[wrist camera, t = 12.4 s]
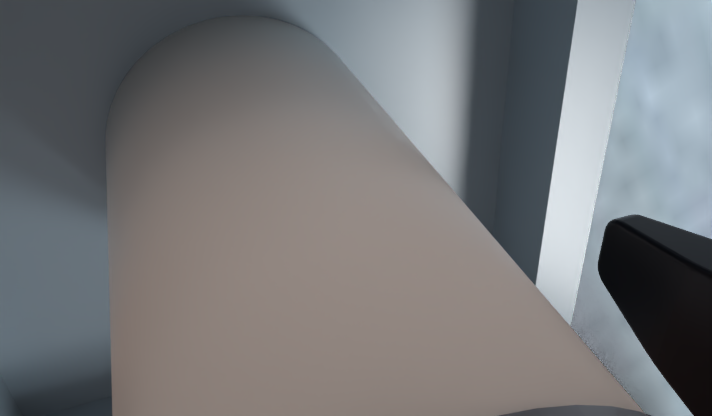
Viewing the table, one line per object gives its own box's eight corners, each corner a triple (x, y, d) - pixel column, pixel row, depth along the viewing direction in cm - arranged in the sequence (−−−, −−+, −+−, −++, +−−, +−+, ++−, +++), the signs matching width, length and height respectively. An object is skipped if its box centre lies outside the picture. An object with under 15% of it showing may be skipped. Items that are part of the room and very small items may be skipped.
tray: (573, -321, 11) (705, -348, 9) (505, 290, 19) (563, 364, 17) (-440, -293, 8) (-677, -324, 5) (-7, 433, 16) (-26, 550, 13)
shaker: (363, -10, 12) (952, 463, 4) (372, 221, 15) (707, 762, 7) (61, 34, 10) (-53, 892, 2) (138, 276, 13) (199, 1023, 5)
